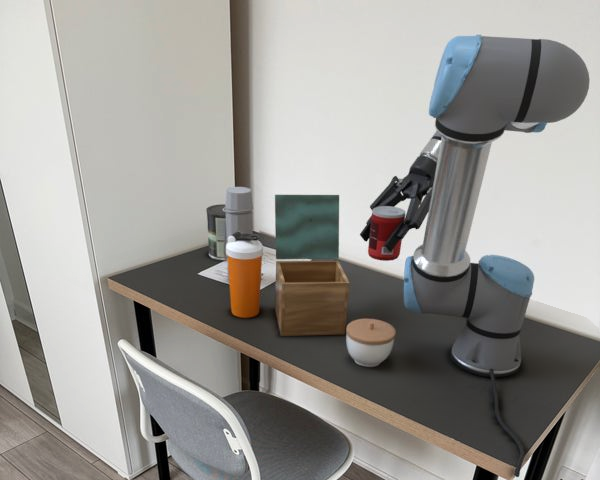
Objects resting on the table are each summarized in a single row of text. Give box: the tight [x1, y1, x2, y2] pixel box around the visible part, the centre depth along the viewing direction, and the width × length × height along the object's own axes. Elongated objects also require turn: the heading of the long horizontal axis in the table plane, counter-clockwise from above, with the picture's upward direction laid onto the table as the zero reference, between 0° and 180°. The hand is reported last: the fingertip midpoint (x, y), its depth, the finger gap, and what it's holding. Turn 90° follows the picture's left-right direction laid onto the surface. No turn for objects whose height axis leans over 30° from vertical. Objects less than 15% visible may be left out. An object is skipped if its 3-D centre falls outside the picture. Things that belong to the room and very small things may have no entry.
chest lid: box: [274, 194, 340, 260], centre depth 143 cm, size 15×16×1 cm
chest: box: [274, 260, 351, 337], centre depth 143 cm, size 14×16×13 cm
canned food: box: [367, 206, 406, 262], centre depth 141 cm, size 8×8×11 cm
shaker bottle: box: [226, 231, 264, 319], centre depth 144 cm, size 9×9×20 cm
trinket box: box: [345, 318, 397, 368], centre depth 129 cm, size 11×11×9 cm
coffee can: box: [205, 203, 227, 261], centre depth 179 cm, size 10×10×14 cm
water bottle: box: [223, 186, 254, 281], centre depth 160 cm, size 9×8×25 cm
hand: (375, 243), depth 140 cm, fingers closed on canned food, 8 cm apart
